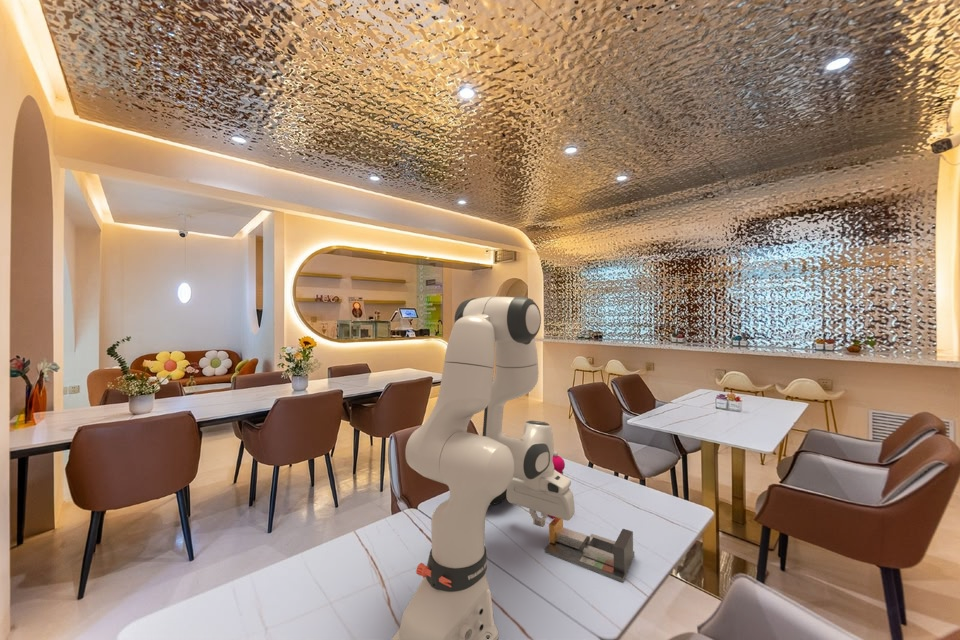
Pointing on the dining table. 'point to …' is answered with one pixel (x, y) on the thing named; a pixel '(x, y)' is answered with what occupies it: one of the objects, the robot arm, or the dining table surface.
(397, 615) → the dining table surface
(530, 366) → the robot arm
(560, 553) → the bench
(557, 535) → the plunger
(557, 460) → the pepper mill
